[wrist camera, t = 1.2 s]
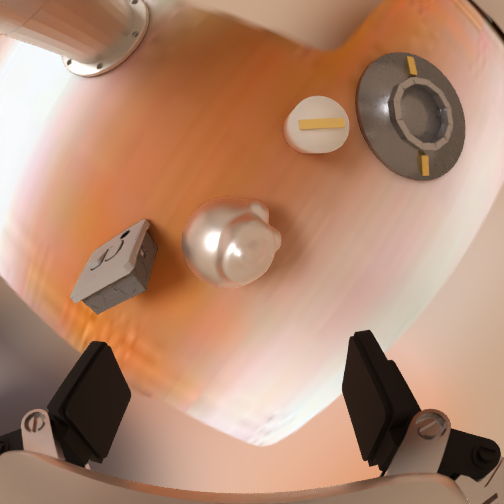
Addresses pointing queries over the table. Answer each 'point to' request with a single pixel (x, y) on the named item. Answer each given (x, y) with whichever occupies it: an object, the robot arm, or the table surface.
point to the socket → (410, 116)
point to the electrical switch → (117, 269)
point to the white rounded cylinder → (316, 126)
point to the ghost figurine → (230, 241)
